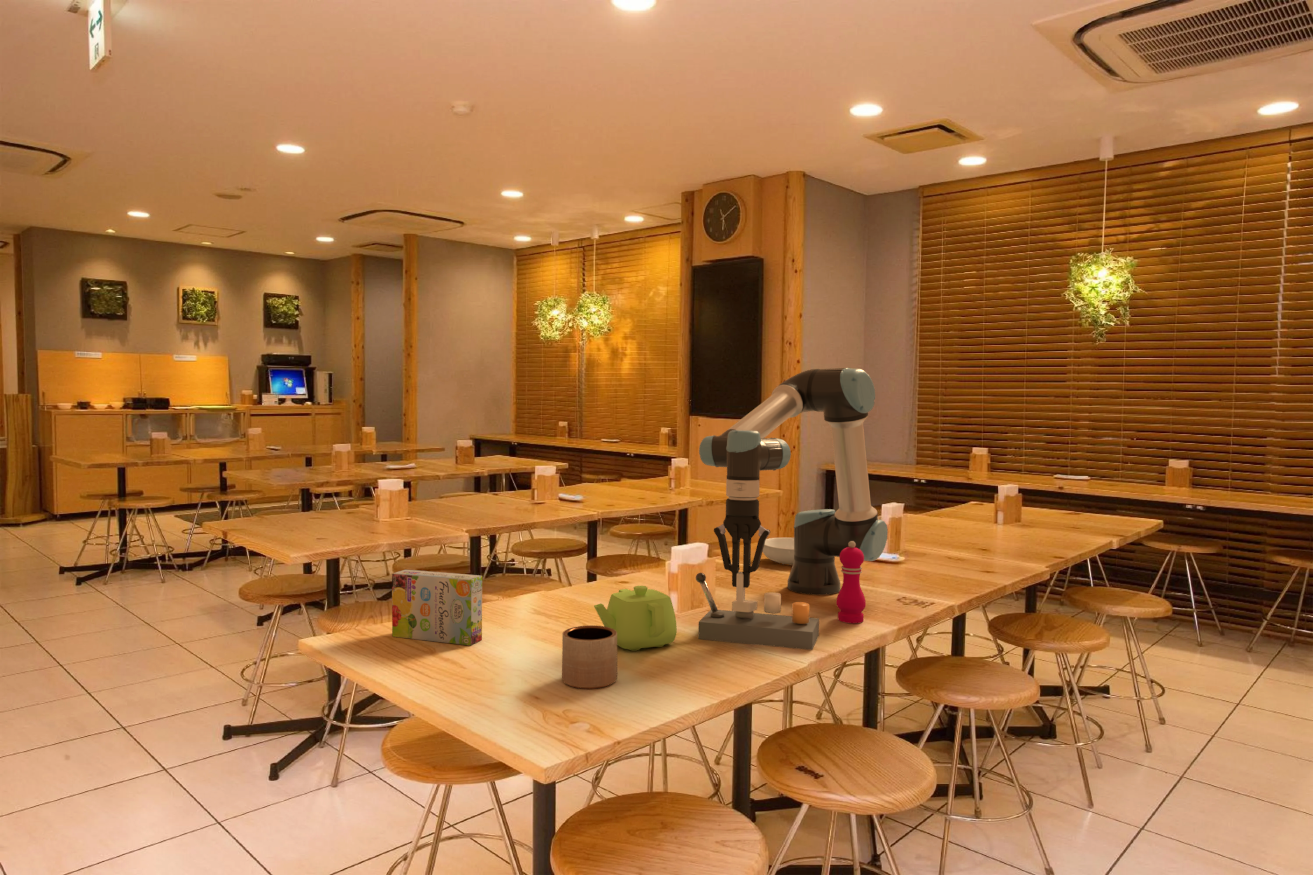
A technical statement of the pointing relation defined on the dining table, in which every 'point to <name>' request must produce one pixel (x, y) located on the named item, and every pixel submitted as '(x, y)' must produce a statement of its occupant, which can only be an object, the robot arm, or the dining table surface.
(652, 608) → the teapot
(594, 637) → the planter
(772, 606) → the button cream
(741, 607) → the rocker
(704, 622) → the console
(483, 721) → the dining table surface
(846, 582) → the pepper mill
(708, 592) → the lever
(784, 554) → the serving bowl
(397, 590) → the snack box
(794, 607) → the button orange
